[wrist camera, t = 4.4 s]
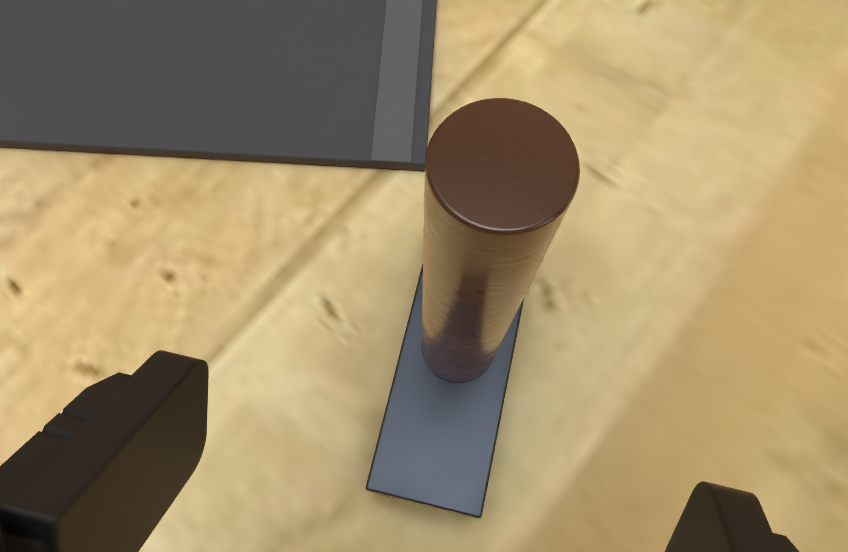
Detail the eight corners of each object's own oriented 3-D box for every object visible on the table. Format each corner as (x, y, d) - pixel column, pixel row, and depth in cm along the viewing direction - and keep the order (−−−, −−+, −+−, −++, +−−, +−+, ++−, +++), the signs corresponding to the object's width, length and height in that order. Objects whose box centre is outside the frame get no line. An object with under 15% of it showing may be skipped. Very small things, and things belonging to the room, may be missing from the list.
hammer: (436, 233, 26) (458, -96, 12) (525, 253, 26) (656, -59, 12) (371, 491, 23) (294, 462, 9) (473, 517, 22) (566, 530, 8)
